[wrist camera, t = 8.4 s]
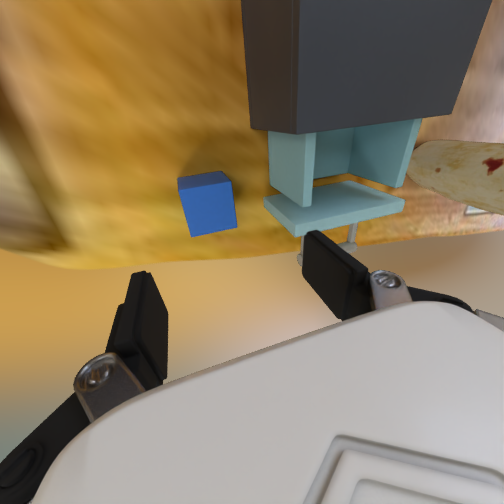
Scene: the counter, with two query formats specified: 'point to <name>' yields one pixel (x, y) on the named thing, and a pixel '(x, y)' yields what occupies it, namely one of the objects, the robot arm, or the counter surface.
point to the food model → (461, 172)
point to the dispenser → (355, 60)
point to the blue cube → (207, 202)
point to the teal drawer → (334, 163)
